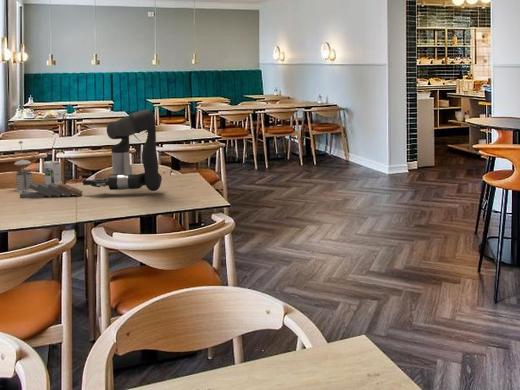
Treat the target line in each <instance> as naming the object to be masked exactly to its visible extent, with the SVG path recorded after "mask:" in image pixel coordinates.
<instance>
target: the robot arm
mask: <svg viewBox="0 0 520 390" xmlns="http://www.w3.org/2000/svg"><path fill="white" fill-rule="evenodd" d="M156 127H157V126H156V119H155V115H154V113H153V112H152V110H151V109H149V108H146V109H142V110H138V111H135V112H132V113H130V114H128V116H127V115H126V116H124V117H122V118H120V119H118V120H116V121H109V122H108V123H107V126H106V134H107V136H108V138H110V139H111V140H120V141H119V143H117V144H114V145H112V146H111V149H110V150H111V151H110V152H111V164H112V174H109V175H108V178H107V177H104V176H103V177H98V178H92V179H84V180H82V185H83V186H91V187H95V188H105V187H106V186H107V187H108V189H109V190H110V191H121V190H137V189H141V188H142V187H143V186H145V187H146V188H147V189H148V191H151V192H156V191H158V190H159V189H160V187H161V185H162V180H163V178H162V175H161V174H160V173H159V161H158V154H157V145H156V144H157V132H156V131H157V130H156ZM145 131H147V138H146V140H145V142H144V146H143V148H142V152H141V159H142V165H143V171H144V172H142V173H139V174H133V166H132V165H131V156H130V155H131V154H130V152H131V151H130V136H133V135H135V134H136V133H142V132H145Z"/></svg>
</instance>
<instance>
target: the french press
mask: <svg viewBox="0 0 520 390" xmlns="http://www.w3.org/2000/svg"><path fill="white" fill-rule="evenodd" d="M23 143H24V142H23V141H22V140H19V141H18V144H19V145H22V144H23ZM20 150H21V154H23V150H22V147H20ZM31 164H32V162H31V161H30V160H28V159H23V157H21V159H20V160H16V161H15V162H14V164H13V165H14V166H22V167H21V169H20V170H16V171H15V172H16V174H15V180H16V181H15V182H16V188H15V190H16V191H15V192H18V191H24V192H33V190H32V189H30V188H29V186H30V184H31V183H33V182H34V181H33V180H34V179H33V173H32V170H31V169H27V168H26V166H27V165H31ZM23 166H24V167H23Z"/></svg>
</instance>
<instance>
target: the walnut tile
mask: <svg viewBox="0 0 520 390" xmlns="http://www.w3.org/2000/svg"><path fill="white" fill-rule="evenodd" d="M57 188H59V189H61V190H64V191H66V192H69V193H71V194H72V196H76V197H78V198H79V197H81V196H82V194H83V190H80V189H78V188H76V187H73V186H71V185H68V184H66V183H64V182H62V181H61V183H60V184H58V186H57Z"/></svg>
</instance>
